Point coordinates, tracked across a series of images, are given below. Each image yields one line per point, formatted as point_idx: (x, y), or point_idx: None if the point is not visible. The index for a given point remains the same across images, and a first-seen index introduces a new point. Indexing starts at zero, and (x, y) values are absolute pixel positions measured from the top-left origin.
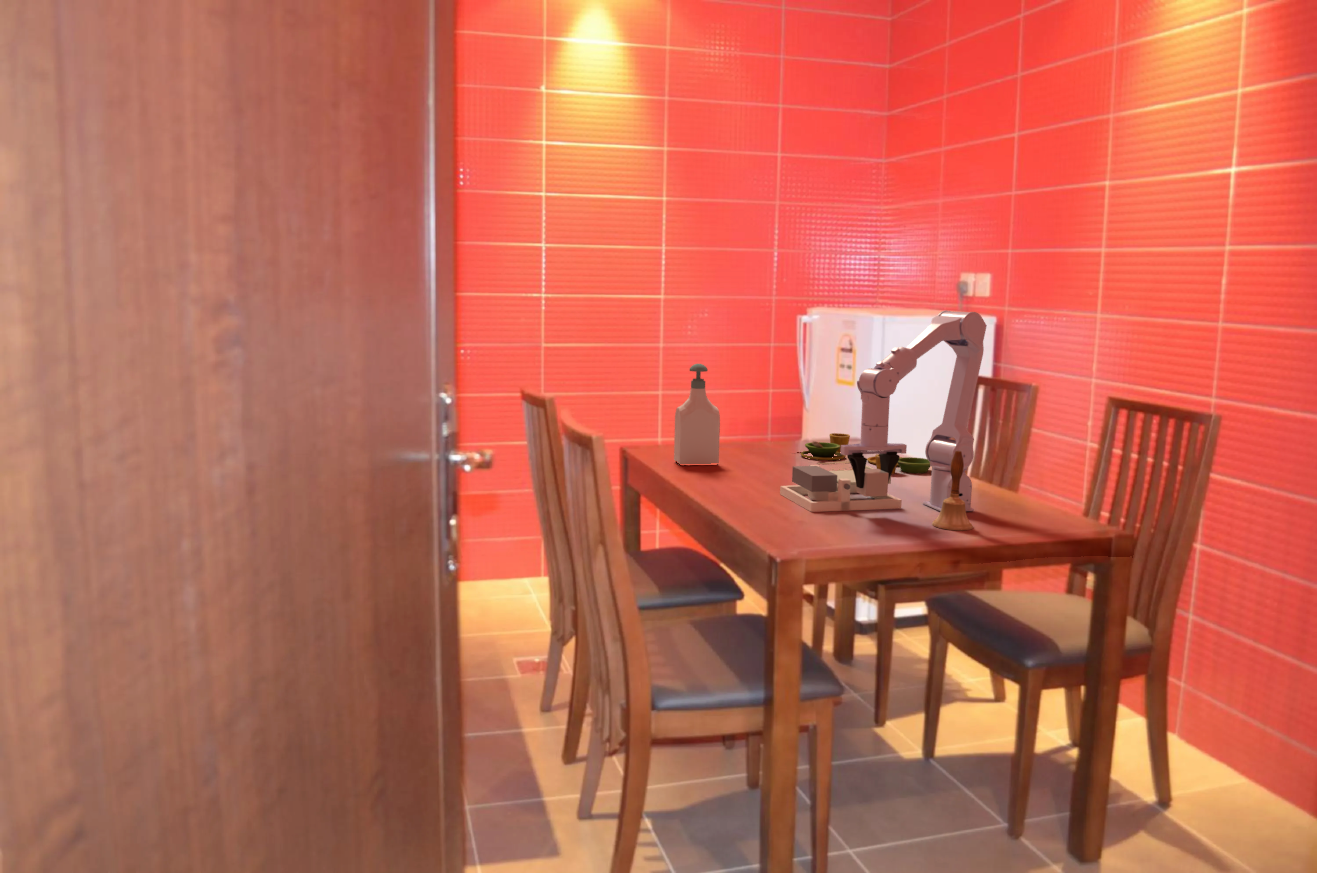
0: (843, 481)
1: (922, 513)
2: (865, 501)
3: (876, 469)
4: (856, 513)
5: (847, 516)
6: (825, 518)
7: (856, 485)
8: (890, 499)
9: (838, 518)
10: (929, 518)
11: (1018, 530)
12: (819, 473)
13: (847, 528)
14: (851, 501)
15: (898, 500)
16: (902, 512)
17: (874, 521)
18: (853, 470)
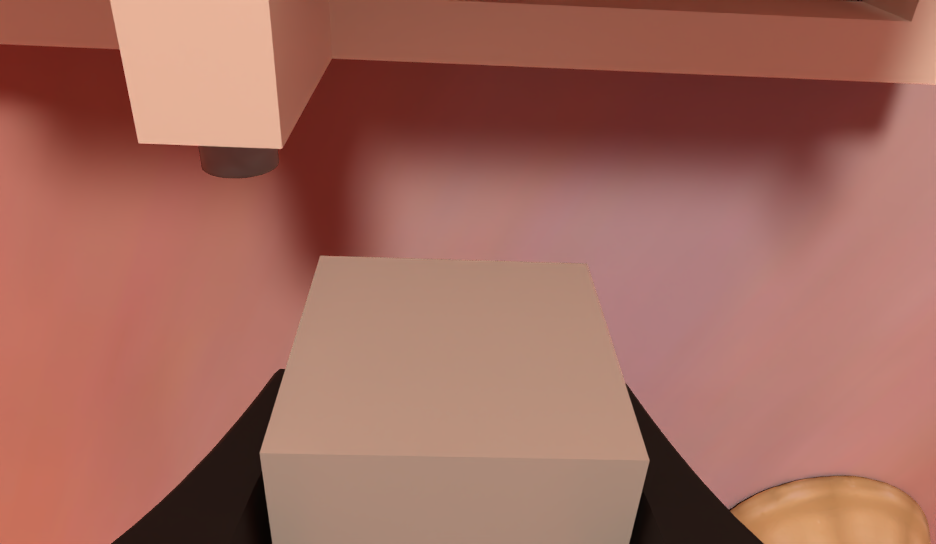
0: (166, 137)
1: (918, 262)
2: (522, 66)
3: (582, 497)
4: (367, 158)
5: (244, 241)
6: (37, 268)
7: (271, 379)
8: (846, 46)
9: (148, 286)
10: (831, 397)
11: None
12: None
13: (139, 510)
14: (354, 59)
15: (911, 80)
16: (789, 200)
17: None
18: (166, 506)
